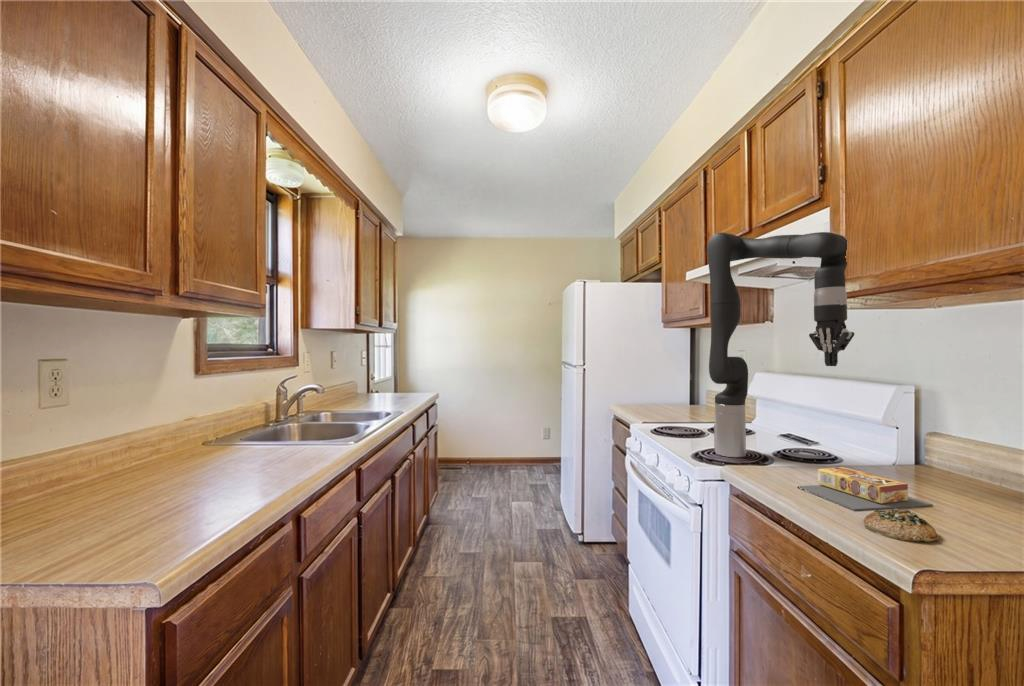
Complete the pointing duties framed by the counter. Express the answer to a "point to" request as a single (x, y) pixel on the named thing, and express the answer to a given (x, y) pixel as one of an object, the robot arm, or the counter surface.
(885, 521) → the bread roll
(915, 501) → the rubber mat
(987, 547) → the counter surface
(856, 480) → the candy box
